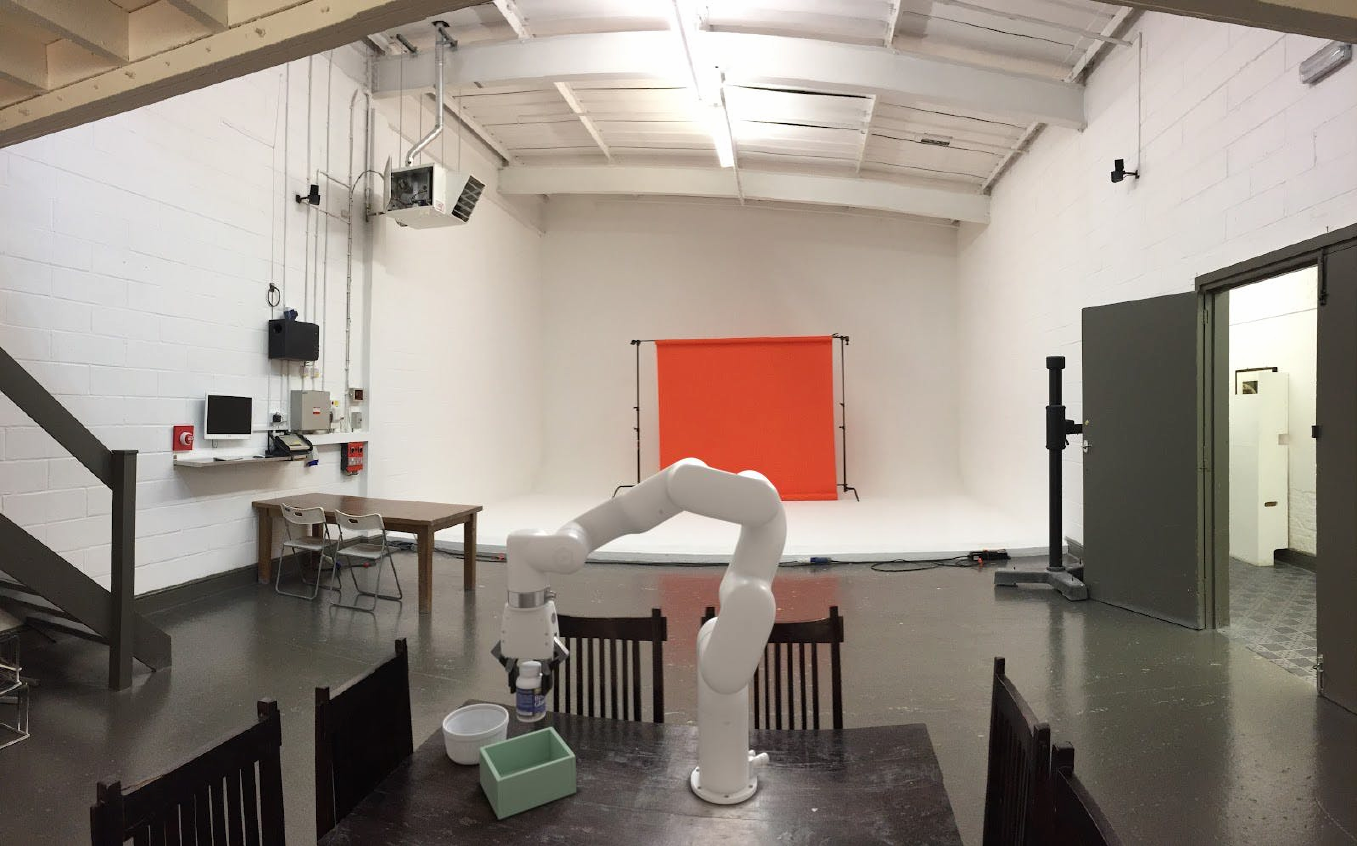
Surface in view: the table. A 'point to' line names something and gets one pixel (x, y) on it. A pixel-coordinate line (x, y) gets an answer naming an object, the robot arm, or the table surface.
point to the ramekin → (473, 731)
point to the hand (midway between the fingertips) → (530, 690)
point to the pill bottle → (530, 693)
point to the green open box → (527, 771)
